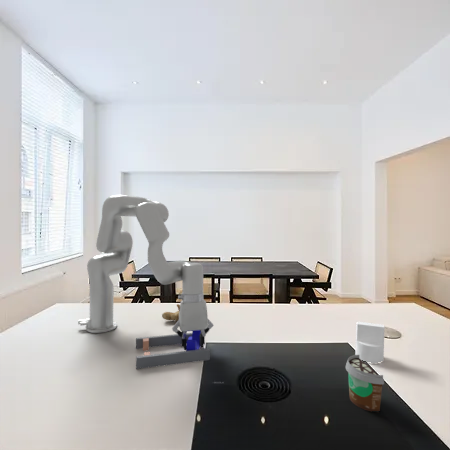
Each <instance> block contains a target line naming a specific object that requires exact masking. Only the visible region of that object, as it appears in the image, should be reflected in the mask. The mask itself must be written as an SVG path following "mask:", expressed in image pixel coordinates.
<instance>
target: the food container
mask: <svg viewBox="0 0 450 450" xmlns="http://www.w3.org/2000/svg"><path fill="white" fill-rule="evenodd" d="M345 370H346V371H347V373H348V377H347V378H348V393H349V395H348V396H349V400H350V402H351V403H352V404H353V405H355V406H357V408H359V409H363V410H365V411H368V412H372V411H381V401H382V391H383V385H385V379H384V375H383V374H377V372H375V370H374V369H373V367H371V366H370V365H369V364H368V363H366V362H363V361H362V360H361V359H360V358H359V355H355V354H353V355H350V356H349V357H348V358H347V361H346V364H345Z"/></svg>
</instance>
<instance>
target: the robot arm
mask: <svg viewBox="0 0 450 450" xmlns="http://www.w3.org/2000/svg"><path fill="white" fill-rule="evenodd" d="M101 207H102V208H101V220H100V225H99V229H98V233H97V238H96V243H95V244H96V246H95V248H96V250H97V251H98V252H100V253H102V254H98V255H95V256H92V257H91V258H89V260H88V262H87V264H86V266H87V268H86V269H87V275H88V281H89V316H88V318H86V319H85V318H84V319H78V321H77V322H78V323H77V324H78V325H80V326H85V327H84V328H85V331H86V332H88V333H92V334H100V333H107V332H111V331H113V330H115V329H116V328H117V327H118V322H116V321H114V284H113V281H112V280H111V278H110V276H114V275H119V274H122V273H124V272H125V271H126V270H127V268H128V266H129V261H130V256H131V255H132V253H131V252H132V250H133V242H134V241H133V237H132V235H131V233H130V232H128V231H127V230H123V229H122V228H123V219H122V217H134V218H136V220H137V222H138V223H139V224H138V225H139V226H140V227H141V230H142V232H143V234H144V236H145V238H146V240H147V242H148V247H147V262H148V266H149V269H150V270H151V272H152V274H153V276H154V278H155V280H157V282H159V283H160V284H161V285H164V286H165V285H166V286H167V285H171V284H173V283H177V282H182V283H181V284H182V286H181V287H182V292H181V294H179V295H178V298H177V299H178V300H181V301H180V303H179V305H180V309H179V310H178V311H179V320H178V321H176V322H175V324H174V325H173V326H172V328H171V330H172V331H173V332H174V333H175V334H178V335H179V336H180V337H181V338H182V344H181V347H182V348H183V351H186V349H187V339H186V333H188V332H192V331H197V330H200V332H201V333H200V335H199V344H200V349H204V345H205V344H206V343H205V341H206V340H205V338H206V335H207V334H208V333H209V331H210V330H211V329H212V328H213V327H214V323H213V322H212V321H211V320H210V319H209V315H208V306H207V301H206V299H204V265H203V264H202V263H200V262H188V261H184V260H175V261H169V262H168V261H167V259H166V257H165V255H164V251H163V246H164V243H165V242H166V241H167V240H169V238H170V232H169V230H168V228H167V226H166V224H165V222H167V220H168V219H169V216H170V215H169V210H168V207H167V206H166V205H165V204H163V203H161V202H158V201H155V200H151V199H149V198H146V197H141V196H134V195H124V194H115V195H110V196H108V197H107V198H106V199H105V200H104V202H103V204H102V206H101ZM178 328H179V329H178Z"/></svg>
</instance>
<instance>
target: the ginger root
mask: <svg viewBox="0 0 450 450" xmlns="http://www.w3.org/2000/svg"><path fill="white" fill-rule="evenodd" d="M176 307H177V311H175V312H171V311H165V312H163V313H162V314H161V317H162V319H163V320H165V321H176V322H177V321H178V320H179V309H180V303H179V304H178V303H177V304H176Z"/></svg>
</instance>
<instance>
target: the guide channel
mask: <svg viewBox="0 0 450 450" xmlns="http://www.w3.org/2000/svg"><path fill="white" fill-rule="evenodd" d="M189 337H192V332H187V333H186V339H187V340H188V338H189ZM173 345H174V346H175V345H182V338H181V337H180V336H179V335H178V334H177V333H175V334H166V335H155V336H145V337H144V336H143V337H136V338H135V349H136V350H137V349H142V351H143V352H144V353H143V355H138V356H135V358H136V359H135V360H136V361H135V362H136V363H135V364H136V365H135V369H136V370H139V369H148V367H149V368H154V367H156V366H157V367H163V366H164V365H165V366H172V365H173V366H174V365H179V364H181V365H182V364H187V363H188V364H189V363H195V362H205V361H210V360H211V358H210V354H211V353H210V351H211V349H210V347H209V348H200V349H199V350H190V351H186V350H183V351H182V350H181V351H173V352H165V353H163V352H162V353H155V354H151V351H149V350H150V348H157V347H164V346H166V347H167V346H173ZM157 367H156V368H157Z"/></svg>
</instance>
